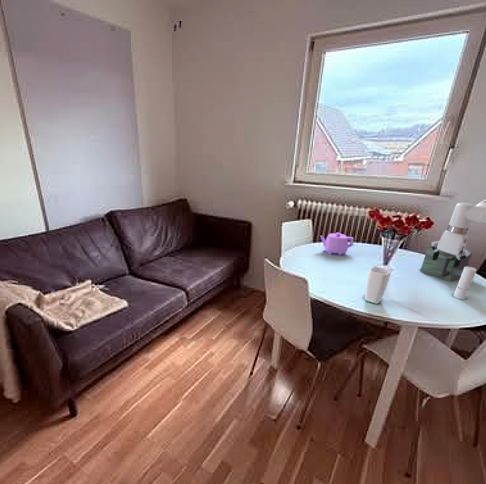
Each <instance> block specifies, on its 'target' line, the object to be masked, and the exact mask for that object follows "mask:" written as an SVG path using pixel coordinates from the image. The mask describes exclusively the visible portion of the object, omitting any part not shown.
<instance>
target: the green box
mask: <svg viewBox="0 0 486 484" xmlns="http://www.w3.org/2000/svg"><path fill="white" fill-rule="evenodd" d="M433 254H434V252H433V249H432V248H429V247H427V248H426V252H425V254H424V258H423V261H422V264H421V267H420V271H419V272H421V273H423V274H426V275H429V276H431V277H432V276H435V277H437V278H440V279H443V280H446V281H448V282H451V279H452V277H453V274H454V271H455V269H456V267H455V268H454V267H453V265H454V263H455V260H456V259H457V257H456V256H455V255H452V254H448V253H445V252H442V251H439V256H438V259H437V260H432V259H433V258H432V257H433Z"/></svg>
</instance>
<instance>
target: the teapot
mask: <svg viewBox="0 0 486 484" xmlns="http://www.w3.org/2000/svg"><path fill="white" fill-rule="evenodd" d="M319 236H320V237H319V238H320V240H321V242H322V244H323V246H324V250H325V252H327V254H328V255H333V254H338V255H339V256H343V254H346V253H347V252H348V250H349V248H352V247H353V246H354V237H353V236H347V235H346V234H344V233H341V232H335V233H328V234H327V237H326V238H325V237H324V235H319ZM348 241H349V242H348Z"/></svg>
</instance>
